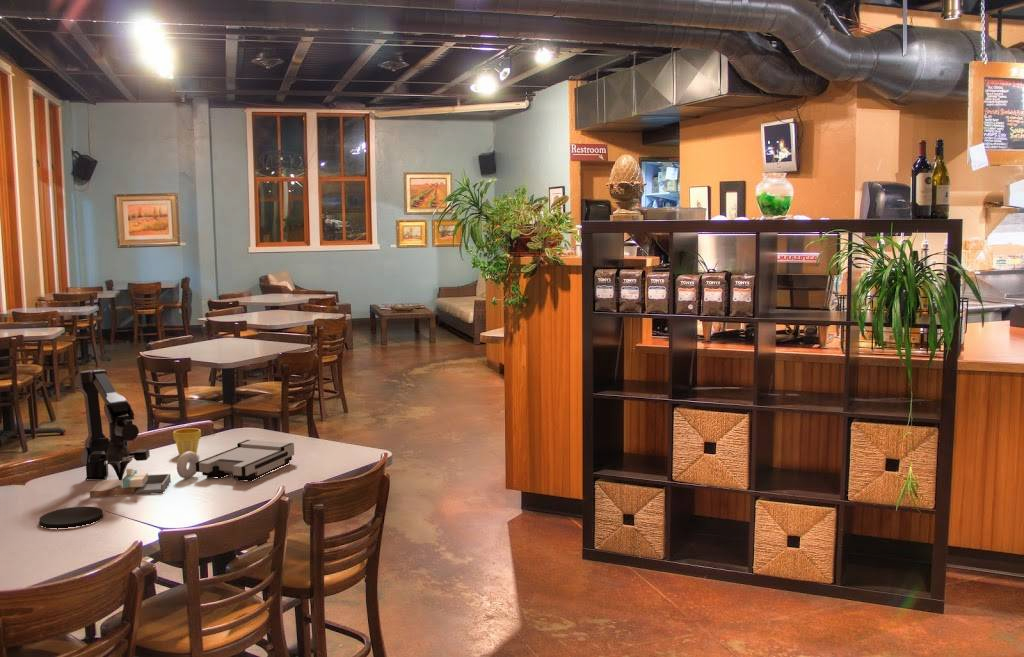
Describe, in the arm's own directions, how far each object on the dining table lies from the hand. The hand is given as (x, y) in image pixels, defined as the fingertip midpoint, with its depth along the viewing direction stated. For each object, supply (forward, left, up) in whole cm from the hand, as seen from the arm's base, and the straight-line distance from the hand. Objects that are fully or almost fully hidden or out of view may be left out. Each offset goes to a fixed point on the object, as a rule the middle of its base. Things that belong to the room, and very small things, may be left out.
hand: (120, 480), depth 313 cm
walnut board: (-1, 0, -4) cm, 4 cm away
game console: (+41, +16, -4) cm, 44 cm away
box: (+11, 0, -4) cm, 11 cm away
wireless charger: (-7, -32, -4) cm, 33 cm away
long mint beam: (+3, 0, -1) cm, 3 cm away
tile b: (+6, +2, -2) cm, 7 cm away
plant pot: (+15, +48, -4) cm, 50 cm away
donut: (+21, +11, -4) cm, 24 cm away
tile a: (+6, -3, -2) cm, 7 cm away
